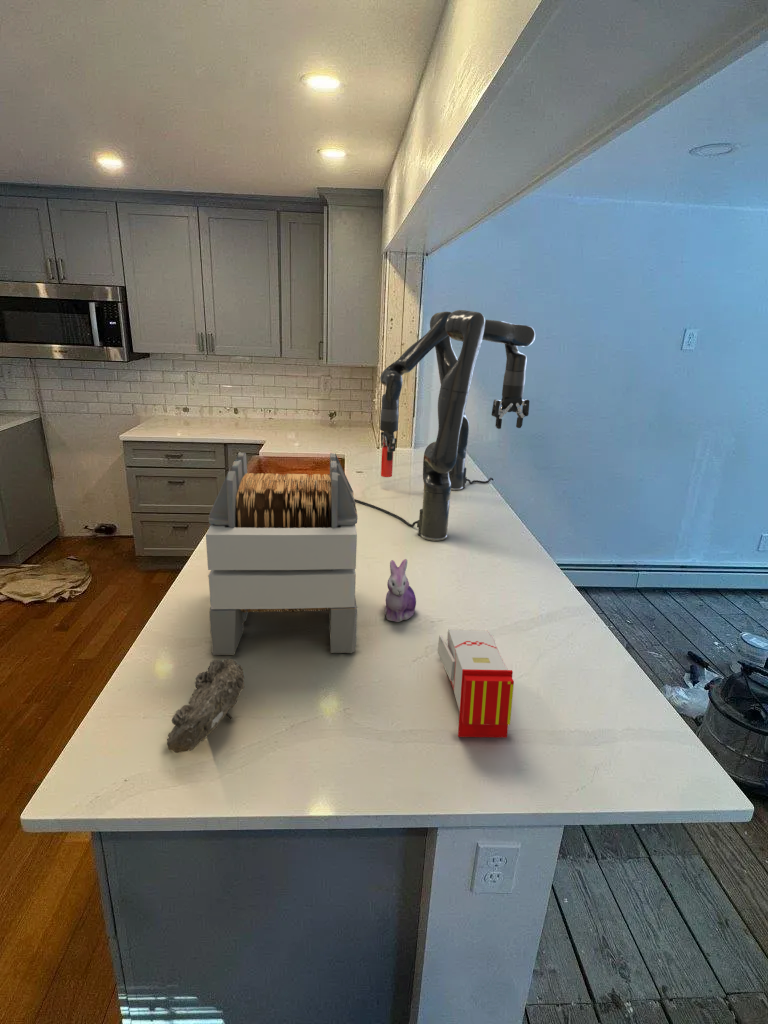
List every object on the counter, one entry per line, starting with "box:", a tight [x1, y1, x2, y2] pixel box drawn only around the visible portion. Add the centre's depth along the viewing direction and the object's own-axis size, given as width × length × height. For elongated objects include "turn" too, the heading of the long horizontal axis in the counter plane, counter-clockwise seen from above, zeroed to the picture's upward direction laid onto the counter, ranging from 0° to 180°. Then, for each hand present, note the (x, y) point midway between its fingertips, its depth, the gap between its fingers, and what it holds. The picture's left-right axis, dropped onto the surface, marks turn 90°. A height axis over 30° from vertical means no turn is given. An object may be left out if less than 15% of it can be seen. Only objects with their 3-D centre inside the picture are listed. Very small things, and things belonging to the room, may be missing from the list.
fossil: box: [166, 658, 245, 754], centre depth 106 cm, size 22×10×15 cm
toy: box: [437, 628, 515, 738], centre depth 117 cm, size 12×13×30 cm
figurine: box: [384, 558, 417, 623], centre depth 145 cm, size 9×10×15 cm
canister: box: [380, 446, 394, 478], centre depth 242 cm, size 5×5×12 cm
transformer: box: [205, 451, 358, 657], centre depth 136 cm, size 34×33×41 cm
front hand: (508, 428), depth 209 cm, fingers open, 8 cm apart
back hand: (387, 458), depth 242 cm, fingers closed on canister, 5 cm apart
